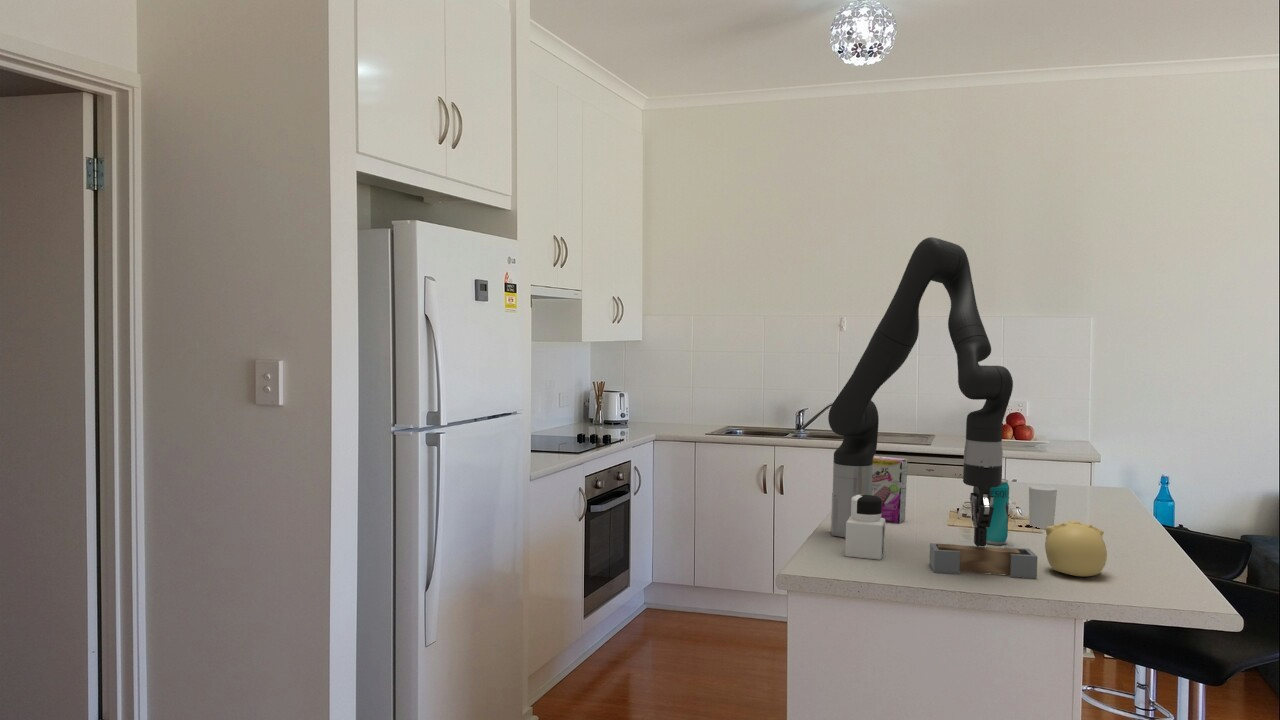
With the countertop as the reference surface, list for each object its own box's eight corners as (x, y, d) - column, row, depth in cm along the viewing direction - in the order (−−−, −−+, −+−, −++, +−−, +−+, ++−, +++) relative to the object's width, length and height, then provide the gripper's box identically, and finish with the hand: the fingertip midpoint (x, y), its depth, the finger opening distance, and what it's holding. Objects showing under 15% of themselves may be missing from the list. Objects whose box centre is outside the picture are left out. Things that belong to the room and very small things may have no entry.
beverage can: (1009, 546, 223) (1011, 482, 222) (983, 544, 224) (985, 480, 223) (1004, 541, 228) (1007, 478, 228) (979, 539, 230) (981, 477, 229)
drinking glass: (1056, 530, 242) (1058, 491, 242) (1028, 528, 244) (1029, 489, 244) (1054, 525, 248) (1055, 487, 248) (1026, 523, 251) (1028, 485, 250)
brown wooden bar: (937, 571, 199) (938, 547, 199) (936, 567, 203) (936, 543, 202) (1019, 577, 196) (1020, 552, 196) (1016, 573, 199) (1017, 549, 199)
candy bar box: (857, 518, 252) (859, 456, 251) (864, 515, 256) (866, 454, 255) (900, 524, 246) (902, 460, 245) (905, 521, 250) (908, 458, 249)
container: (884, 552, 214) (886, 494, 213) (881, 560, 207) (883, 500, 206) (849, 549, 216) (850, 491, 216) (844, 556, 209) (846, 497, 209)
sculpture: (1097, 568, 203) (1099, 518, 203) (1112, 583, 192) (1114, 529, 191) (1040, 564, 206) (1041, 514, 206) (1050, 578, 194) (1052, 525, 194)
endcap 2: (1028, 570, 201) (1029, 548, 201) (1036, 578, 194) (1037, 556, 194) (1003, 568, 202) (1004, 547, 201) (1010, 577, 195) (1011, 555, 195)
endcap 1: (933, 572, 197) (934, 550, 197) (929, 564, 204) (930, 543, 204) (959, 573, 196) (960, 552, 196) (953, 565, 203) (954, 544, 203)
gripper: (958, 457, 205) (955, 537, 206) (969, 465, 192) (966, 551, 193) (995, 458, 204) (992, 539, 205) (1008, 467, 191) (1005, 554, 192)
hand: (979, 545), depth 199 cm, fingers closed
